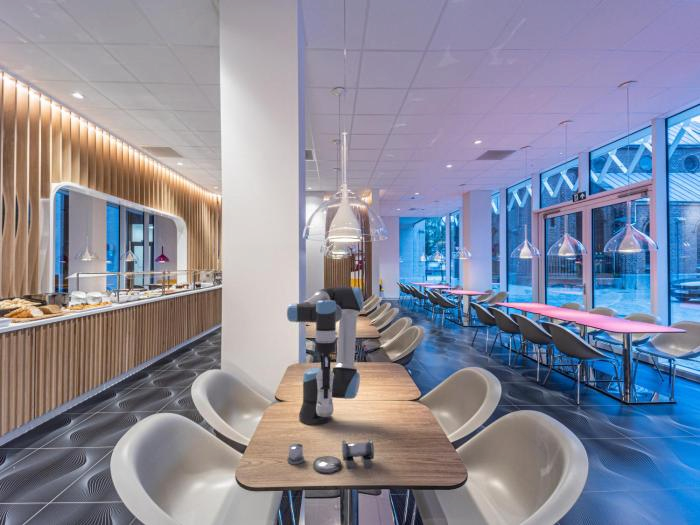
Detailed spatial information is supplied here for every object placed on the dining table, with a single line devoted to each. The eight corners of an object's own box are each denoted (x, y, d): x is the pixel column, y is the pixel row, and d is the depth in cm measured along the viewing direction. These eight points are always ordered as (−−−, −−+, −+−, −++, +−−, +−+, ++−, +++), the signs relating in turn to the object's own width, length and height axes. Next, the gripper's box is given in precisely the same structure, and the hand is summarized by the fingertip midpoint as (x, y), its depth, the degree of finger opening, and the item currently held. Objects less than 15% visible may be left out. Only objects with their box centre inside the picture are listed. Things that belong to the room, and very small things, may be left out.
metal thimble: (283, 461, 131) (284, 447, 131) (294, 455, 136) (294, 441, 136) (296, 466, 128) (296, 452, 128) (307, 459, 133) (307, 445, 133)
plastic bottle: (326, 420, 130) (327, 364, 132) (312, 416, 134) (312, 361, 135) (336, 415, 136) (337, 361, 137) (322, 411, 139) (323, 359, 141)
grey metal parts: (313, 474, 123) (313, 450, 123) (312, 459, 132) (312, 437, 133) (375, 470, 126) (375, 446, 126) (369, 456, 135) (369, 434, 136)
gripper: (337, 345, 128) (337, 412, 126) (333, 337, 146) (332, 396, 145) (316, 345, 127) (315, 413, 125) (315, 337, 146) (314, 396, 144)
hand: (324, 403), depth 135 cm, fingers closed on plastic bottle, 6 cm apart
